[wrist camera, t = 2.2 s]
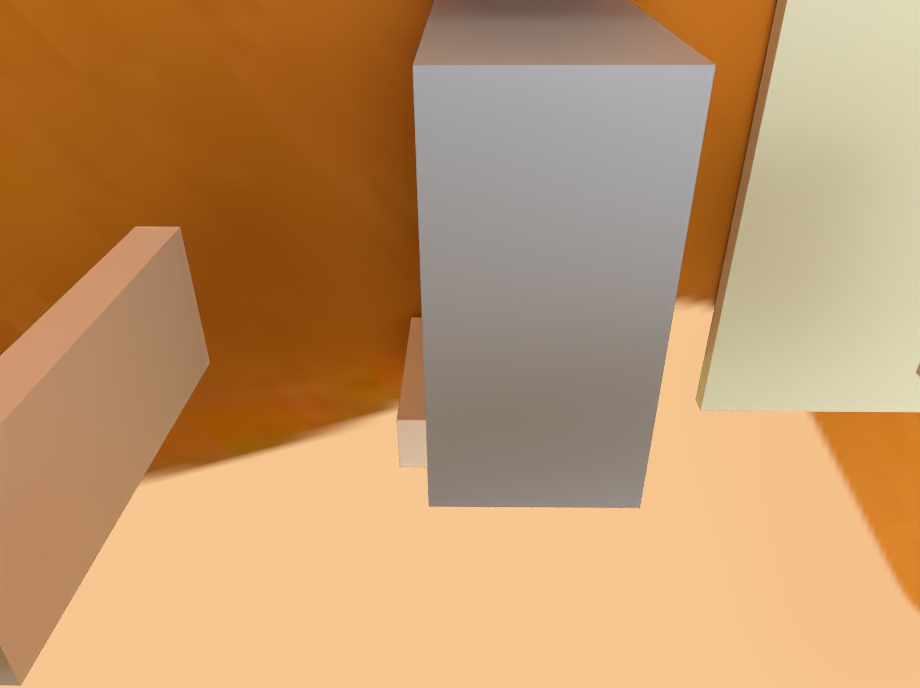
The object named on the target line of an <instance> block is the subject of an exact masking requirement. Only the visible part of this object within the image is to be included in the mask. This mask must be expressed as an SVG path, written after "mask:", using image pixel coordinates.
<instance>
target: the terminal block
mask: <svg viewBox="0 0 920 688" xmlns="http://www.w3.org/2000/svg"><path fill="white" fill-rule="evenodd" d="M715 66H716V65H715V64H714V63H713V62H711V61H710V60H709V59H707V58H706V57H705V56H703V55H702V54H701V53H699V52H698V51H696V50H695V49H694V48H692V47H691V46H690V45H688V44H687V43H686V42H684V41H683V40H682V39H680V38H679V37H678V36H676V35H675V34H674V33H672V32H671V31H670V30H668V29H667V28H666V27H664V26H663V25H662V24H660V23H659V22H657V21H656V20H655V19H653V18H652V17H651V16H649V15H648V14H647V13H645V12H644V11H643V10H641V9H640V8H639V7H637V6H636V5H635V4H633V3H632V2H631V1H629V0H434V2H433V5H432V8H431V11H430V14H429V17H428V20H427V23H426V26H425V29H424V32H423V35H422V38H421V41H420V44H419V47H418V50H417V53H416V56H415V60H414V63H413V90H414V117H415V144H416V171H417V199H418V226H419V253H420V280H421V307H422V334H423V361H424V388H425V415H426V442H427V469H428V494H429V495H428V496H429V506H449V507H450V506H452V507H453V506H454V507H594V508H595V507H596V508H597V507H599V508H603V507H604V508H640V504H641V498H642V492H643V487H644V481H645V475H646V469H647V463H648V457H649V452H650V446H651V440H652V434H653V428H654V422H655V416H656V411H657V404H658V399H659V393H660V387H661V381H662V376H663V370H664V364H665V358H666V352H667V346H668V341H669V334H670V329H671V323H672V317H673V311H674V306H675V300H676V294H677V288H678V282H679V276H680V271H681V265H682V259H683V253H684V247H685V241H686V236H687V230H688V224H689V218H690V212H691V206H692V200H693V195H694V189H695V183H696V177H697V171H698V165H699V160H700V154H701V148H702V142H703V136H704V130H705V125H706V119H707V113H708V107H709V101H710V95H711V90H712V84H713V78H714V72H715Z"/></svg>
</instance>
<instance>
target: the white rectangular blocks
mask: <svg viewBox="0 0 920 688" xmlns="http://www.w3.org/2000/svg"><path fill="white" fill-rule="evenodd" d="M397 431H398V447H399V462H400V467H427V442H426V415H425V388H424V361H423V334H422V317H411V323H410V331H409V338H408V345H407V352H406V359H405V366H404V373H403V380H402V387H401V394H400V401H399V408H398V415H397Z"/></svg>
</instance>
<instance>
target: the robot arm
mask: <svg viewBox="0 0 920 688" xmlns="http://www.w3.org/2000/svg"><path fill="white" fill-rule="evenodd" d="M209 364H210V361H209V356H208V352H207V347H206V342H205V338H204V333H203V329H202V324H201V320H200V315H199V310H198V306H197V301H196V297H195V292H194V288H193V283H192V278H191V274H190V269H189V265H188V260H187V256H186V251H185V246H184V242H183V237H182V233H181V228H180V227H155V226H135V227H134V228H133V229H132V230H131V231H130V232H129V233H128V234H127V235H126V236H125V237H124V238H123V239H122V240H121V241H120V242H119V243H118V244H117V245H116V246H115V247H114V248H112V249H111V250H110V251H109V252H108V253H107V254H106V255H105V256H104V257H103V258H102V259H101V260H100V261H99V262H98V263H97V264H96V265H95V266H94V267H93V268H92V269H91V270H90V271H88V272H87V273H86V274H85V275H84V276H83V277H82V278H81V279H80V280H79V281H78V282H77V283H76V284H75V285H74V286H73V287H72V288H71V289H70V290H69V291H68V292H67V293H65V294H64V295H63V296H62V297H61V298H60V299H59V300H58V301H57V302H56V303H55V304H54V305H53V306H52V307H51V308H50V309H49V310H48V311H47V312H46V313H45V314H44V315H42V316H41V317H40V318H39V319H38V320H37V321H36V322H35V323H34V324H33V325H32V326H31V327H30V328H29V329H28V330H27V331H26V332H25V333H24V334H23V335H22V336H21V337H20V338H18V339H17V340H16V341H15V342H14V343H13V344H12V345H11V346H10V347H9V348H8V349H7V350H6V351H5V352H4V353H3V354H2V355H1V356H0V685H21V684H22V683H23V681H24V679H25V677H26V676H27V674H28V672H29V670H30V669H31V667H32V666H33V664H34V662H35V660H36V659H37V657H38V655H39V654H40V652H41V650H42V648H43V647H44V645H45V643H46V642H47V640H48V638H49V637H50V635H51V633H52V631H53V630H54V628H55V626H56V625H57V623H58V621H59V619H60V618H61V616H62V614H63V613H64V611H65V609H66V607H67V606H68V604H69V602H70V601H71V599H72V597H73V596H74V594H75V592H76V591H77V589H78V587H79V585H80V584H81V582H82V580H83V579H84V577H85V575H86V573H87V572H88V570H89V568H90V566H91V565H92V563H93V562H94V560H95V558H96V556H97V555H98V553H99V551H100V549H101V548H102V546H103V544H104V543H105V541H106V539H107V538H108V536H109V534H110V532H111V531H112V529H113V527H114V526H115V524H116V522H117V521H118V519H119V517H120V515H121V514H122V512H123V510H124V509H125V507H126V505H127V503H128V502H129V500H130V498H131V497H132V495H133V493H134V492H135V490H136V488H137V486H138V485H139V483H140V481H141V480H142V478H143V476H144V475H145V473H146V471H147V469H148V468H149V466H150V464H151V463H152V461H153V459H154V457H155V456H156V454H157V452H158V451H159V449H160V447H161V446H162V444H163V442H164V440H165V439H166V437H167V435H168V434H169V432H170V430H171V428H172V427H173V425H174V423H175V422H176V420H177V418H178V417H179V415H180V413H181V411H182V410H183V408H184V406H185V405H186V403H187V401H188V399H189V398H190V396H191V394H192V393H193V391H194V389H195V388H196V386H197V384H198V382H199V381H200V379H201V377H202V376H203V374H204V372H205V370H206V369H207V367H208V365H209ZM916 373H917V375H918V376H919V377H920V363H919V366H918V368H917V371H916Z"/></svg>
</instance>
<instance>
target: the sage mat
mask: <svg viewBox="0 0 920 688" xmlns="http://www.w3.org/2000/svg"><path fill="white" fill-rule="evenodd" d="M919 363H920V0H777V5H776V9H775V14H774V19H773V24H772V29H771V34H770V39H769V44H768V49H767V54H766V58H765V63H764V68H763V73H762V78H761V83H760V88H759V93H758V98H757V102H756V107H755V112H754V117H753V122H752V127H751V132H750V137H749V142H748V146H747V151H746V156H745V161H744V166H743V171H742V176H741V181H740V186H739V190H738V195H737V200H736V205H735V210H734V215H733V220H732V225H731V230H730V235H729V239H728V244H727V249H726V254H725V259H724V264H723V269H722V274H721V279H720V283H719V288H718V293H717V298H716V303H715V308H714V313H713V318H712V323H711V328H710V333H709V337H708V342H707V347H706V352H705V357H704V362H703V367H702V371H701V376H700V381H699V386H698V391H697V396H696V401H697V404H698V406H699V408H700V410H701V411H811V412H920V377H919V376H918V375H917V373H916V371H917V368H918V366H919Z"/></svg>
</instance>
